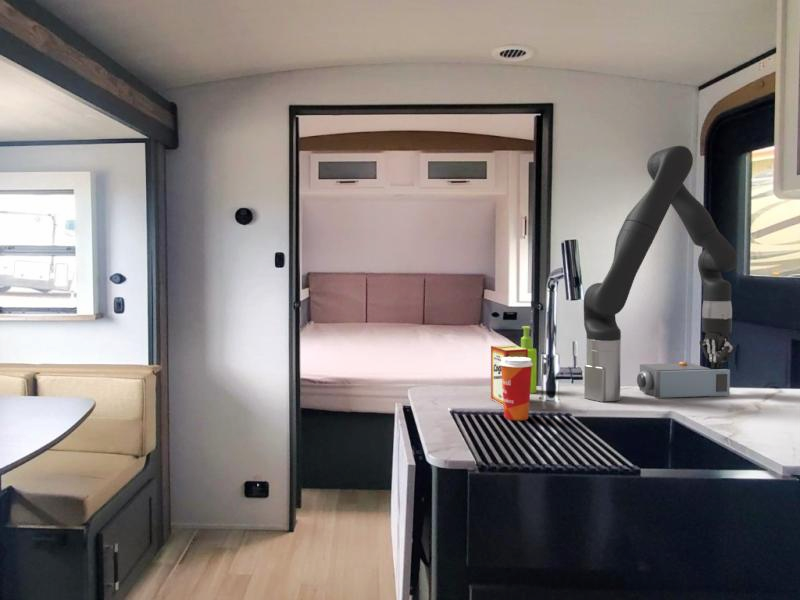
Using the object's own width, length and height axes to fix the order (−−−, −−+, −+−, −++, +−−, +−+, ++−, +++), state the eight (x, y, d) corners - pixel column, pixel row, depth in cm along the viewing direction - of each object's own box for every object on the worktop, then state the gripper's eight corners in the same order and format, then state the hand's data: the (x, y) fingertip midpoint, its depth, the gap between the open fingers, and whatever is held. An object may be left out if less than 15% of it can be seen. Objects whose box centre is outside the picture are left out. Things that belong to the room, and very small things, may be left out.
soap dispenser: (534, 388, 171) (534, 325, 170) (537, 393, 164) (537, 327, 163) (515, 388, 172) (515, 325, 171) (518, 393, 165) (517, 327, 164)
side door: (730, 395, 157) (731, 369, 157) (656, 397, 155) (657, 372, 155) (726, 394, 159) (727, 368, 159) (653, 396, 157) (654, 371, 157)
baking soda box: (527, 405, 150) (527, 347, 149) (506, 407, 148) (506, 349, 148) (511, 398, 159) (511, 343, 158) (491, 399, 158) (490, 344, 157)
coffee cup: (499, 412, 143) (499, 355, 142) (531, 413, 142) (531, 356, 141) (499, 421, 135) (499, 361, 134) (534, 422, 134) (534, 361, 133)
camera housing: (710, 395, 159) (710, 365, 158) (649, 398, 157) (649, 367, 157) (689, 388, 169) (689, 360, 168) (631, 390, 167) (632, 362, 167)
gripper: (690, 314, 166) (690, 371, 167) (720, 318, 153) (719, 379, 154) (714, 314, 167) (713, 370, 167) (745, 317, 153) (744, 378, 154)
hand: (716, 374), depth 161 cm, fingers closed
